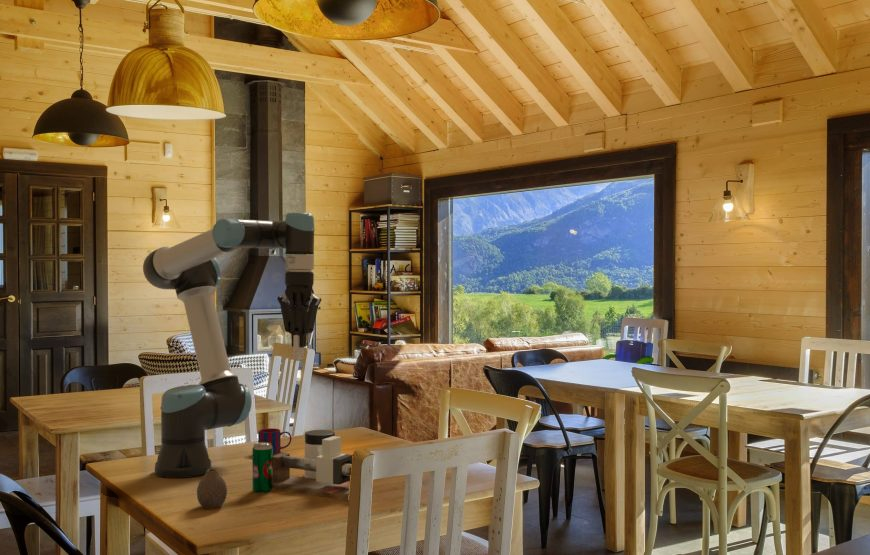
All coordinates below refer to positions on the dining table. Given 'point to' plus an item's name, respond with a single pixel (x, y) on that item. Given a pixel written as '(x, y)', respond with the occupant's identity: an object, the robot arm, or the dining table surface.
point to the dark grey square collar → (340, 469)
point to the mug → (272, 438)
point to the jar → (315, 446)
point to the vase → (211, 490)
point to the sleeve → (328, 459)
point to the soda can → (262, 467)
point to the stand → (305, 482)
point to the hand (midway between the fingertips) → (298, 359)
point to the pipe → (308, 464)
